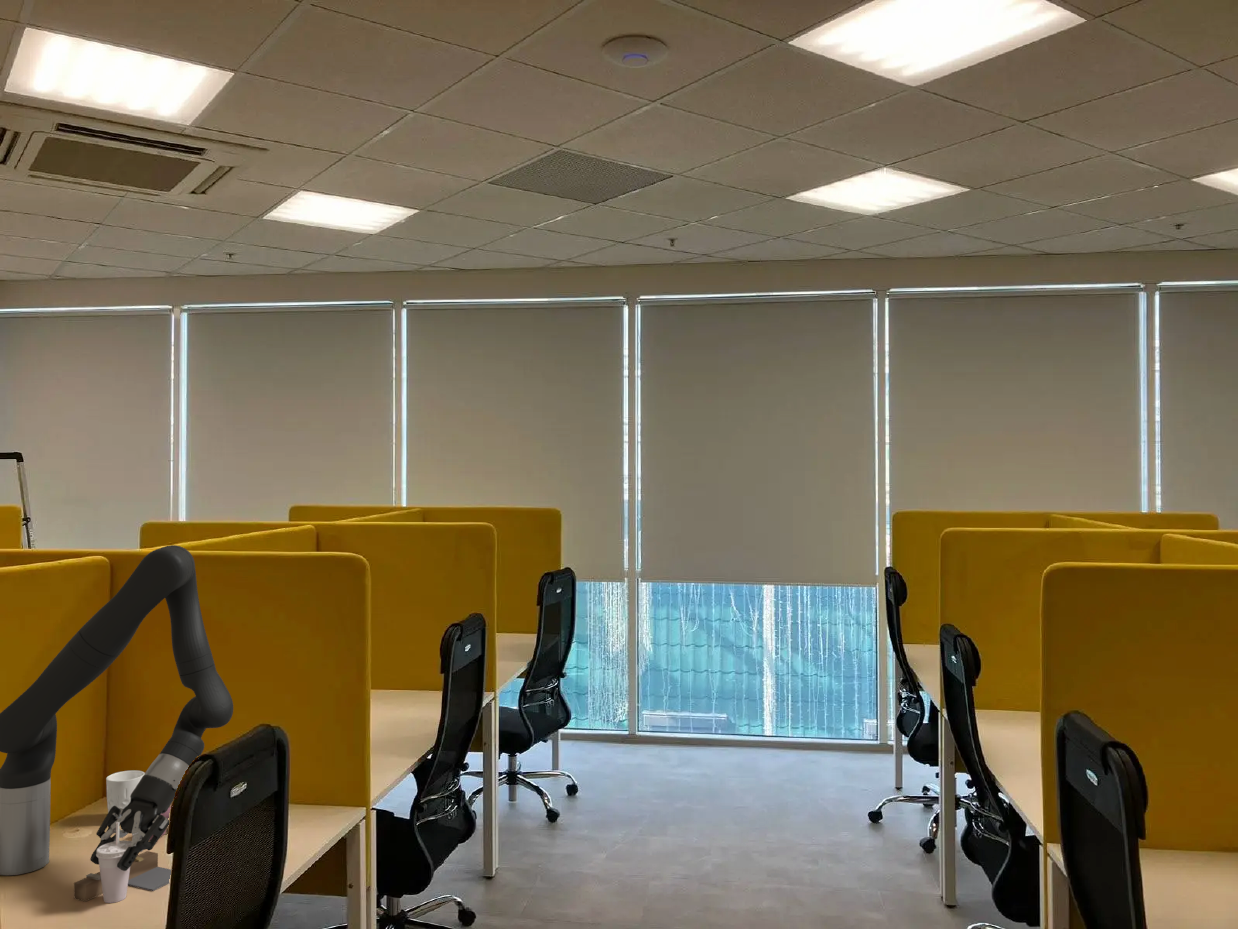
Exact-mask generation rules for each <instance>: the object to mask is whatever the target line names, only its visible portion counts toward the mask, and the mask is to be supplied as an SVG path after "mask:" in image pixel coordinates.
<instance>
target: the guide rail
mask: <svg viewBox="0 0 1238 929" xmlns="http://www.w3.org/2000/svg"><path fill="white" fill-rule="evenodd" d="M158 856H159V853H158V852H154V851H151V850H145V851H143V852H140V853H139V854H138V855H137V857H136V859H135V860H134V862H133V863H132V865H131V866H130V873H129V880H130V879H132V878H134V877H136V876H138V875H141V874H143V873H145V872H147V871H149V870H151V869H154V868H156V867H159V866H158V865H159V862H158V861H159V857H158ZM73 884H74V885H73V887H74V888H73V899H74V900H76V901H77V900H78V901H81V902H87V901H90V900H92V899H94V898H96V897H99V896H101V895H103V891H102V883H101V875H100V871H98V872H96V873H92V872H91V873H87V874H85V877H84V878H82V879H79V880H77V881H75V882H74V883H73Z"/></svg>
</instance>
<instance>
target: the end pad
mask: <svg viewBox="0 0 1238 929" xmlns="http://www.w3.org/2000/svg"><path fill="white" fill-rule="evenodd" d="M171 870H172V869H169V868H165V867H161V866H158V867H156V868H154V869H151V870H149V871H147V872H145V873H143V874H141V875H138V876H136V877H134V878H132V879H130V880H128V887H134V888H138V889H142V890H147V891H152V892H154V891H156V890H158V889H160V888H162V887H164V886H166V885H168V884H170V883H169V879H170V875H171Z"/></svg>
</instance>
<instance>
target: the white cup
mask: <svg viewBox="0 0 1238 929" xmlns="http://www.w3.org/2000/svg"><path fill="white" fill-rule="evenodd" d="M145 773H146V772H144V771H142V770H137V769H136V770H134V769H133V770H124V771H117V772H114V773H112V774H110V775H108V776H107V777H106V778H105V780H106V782H105V783H106V801H107V814H108V813H109V811H110V809H111V808H112V807H113V806H117V807H118V808H121V809H124V808H125V807H126V806H127V805H128V804H129V803H130V801H131V797H130V795H131V793H132V792H133V790H134V789H135V787H136V786H137V784H138V783H139V781H140V780H141V779H142V777H143V776H144V774H145Z"/></svg>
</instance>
